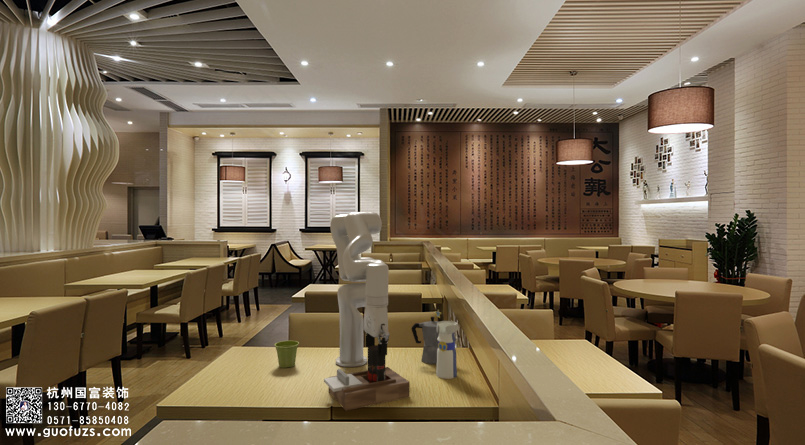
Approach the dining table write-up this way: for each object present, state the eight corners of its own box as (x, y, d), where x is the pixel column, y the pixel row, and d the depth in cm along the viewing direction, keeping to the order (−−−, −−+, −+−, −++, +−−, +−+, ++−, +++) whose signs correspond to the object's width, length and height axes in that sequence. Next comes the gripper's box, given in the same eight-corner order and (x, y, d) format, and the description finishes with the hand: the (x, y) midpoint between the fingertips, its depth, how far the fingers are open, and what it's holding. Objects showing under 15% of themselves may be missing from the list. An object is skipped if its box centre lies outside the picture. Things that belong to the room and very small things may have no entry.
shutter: (323, 381, 144) (323, 370, 144) (351, 376, 148) (351, 366, 148) (333, 391, 135) (333, 380, 135) (362, 386, 140) (362, 375, 140)
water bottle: (452, 380, 159) (453, 311, 158) (431, 376, 163) (431, 308, 163) (462, 374, 166) (462, 307, 165) (441, 369, 170) (442, 304, 170)
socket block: (328, 392, 148) (328, 374, 148) (387, 380, 158) (387, 364, 158) (345, 410, 134) (345, 391, 134) (409, 397, 144) (409, 379, 144)
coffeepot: (444, 355, 187) (444, 313, 187) (451, 363, 178) (451, 318, 178) (408, 358, 184) (408, 315, 183) (414, 365, 174) (414, 320, 174)
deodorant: (367, 389, 150) (367, 345, 150) (384, 389, 151) (385, 345, 151) (367, 396, 145) (367, 350, 144) (385, 396, 145) (385, 350, 145)
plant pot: (269, 367, 172) (269, 345, 172) (284, 360, 180) (284, 339, 180) (289, 371, 168) (289, 348, 168) (303, 363, 177) (303, 341, 177)
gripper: (356, 296, 153) (355, 344, 154) (377, 307, 138) (376, 361, 139) (376, 294, 157) (375, 341, 158) (398, 304, 141) (397, 357, 142)
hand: (376, 350), depth 148 cm, fingers open, 9 cm apart
